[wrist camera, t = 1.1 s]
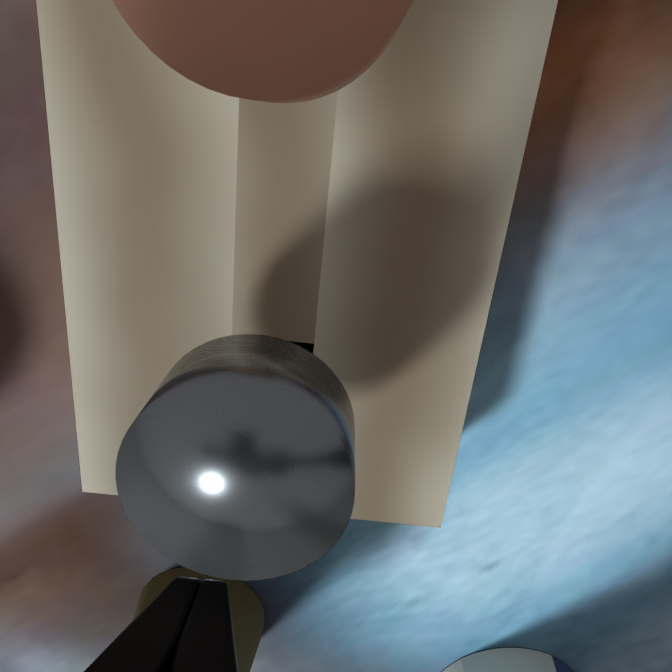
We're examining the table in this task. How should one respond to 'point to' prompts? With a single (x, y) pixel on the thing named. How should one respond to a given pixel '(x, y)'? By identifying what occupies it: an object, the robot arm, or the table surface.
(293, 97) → the pink mushroom knob
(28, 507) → the table surface
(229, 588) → the cork
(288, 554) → the metal plunger
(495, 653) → the water bottle
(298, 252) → the plunger block
